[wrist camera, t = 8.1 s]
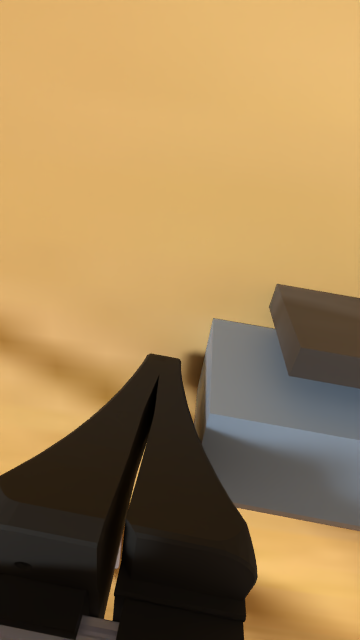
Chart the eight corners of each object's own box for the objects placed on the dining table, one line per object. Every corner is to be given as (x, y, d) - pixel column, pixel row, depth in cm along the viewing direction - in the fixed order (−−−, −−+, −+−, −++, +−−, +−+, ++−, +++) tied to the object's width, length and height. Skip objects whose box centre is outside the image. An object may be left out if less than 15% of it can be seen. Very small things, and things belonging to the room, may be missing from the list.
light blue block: (387, 423, 14) (457, 544, 10) (197, 389, 15) (188, 494, 10) (435, 356, 12) (551, 475, 8) (213, 318, 12) (209, 413, 8)
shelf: (386, 454, 15) (433, 545, 12) (229, 425, 16) (231, 506, 12) (494, 321, 11) (612, 402, 8) (276, 283, 11) (301, 347, 8)
